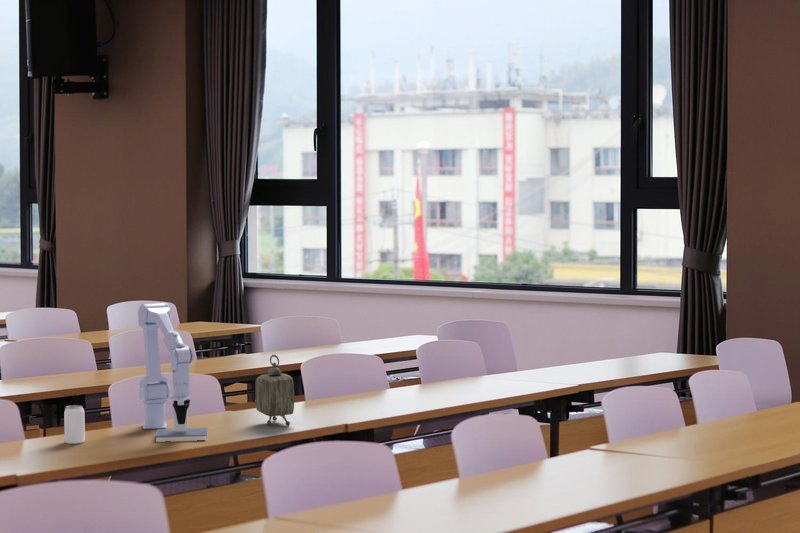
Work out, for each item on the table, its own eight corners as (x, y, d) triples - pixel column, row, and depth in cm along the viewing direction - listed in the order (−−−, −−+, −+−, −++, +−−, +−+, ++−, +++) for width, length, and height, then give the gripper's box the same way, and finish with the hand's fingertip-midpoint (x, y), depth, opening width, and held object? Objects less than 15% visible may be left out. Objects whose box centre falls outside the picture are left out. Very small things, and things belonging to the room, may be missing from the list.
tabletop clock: (294, 426, 417) (294, 356, 415) (271, 429, 412) (270, 358, 410) (276, 419, 429) (276, 351, 427) (254, 422, 424) (253, 353, 423)
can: (79, 444, 387) (78, 408, 386) (61, 443, 388) (60, 408, 387) (88, 440, 393) (87, 405, 392) (70, 439, 394) (69, 404, 394)
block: (174, 426, 399) (174, 409, 399) (187, 426, 400) (187, 408, 400) (173, 429, 395) (173, 411, 395) (187, 428, 396) (187, 411, 395)
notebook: (157, 436, 403) (157, 429, 403) (207, 434, 405) (207, 427, 405) (155, 443, 391) (155, 436, 391) (206, 442, 393) (206, 434, 393)
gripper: (170, 379, 403) (170, 418, 404) (168, 386, 389) (168, 427, 390) (190, 379, 404) (191, 418, 405) (189, 386, 390) (190, 426, 391)
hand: (181, 422), depth 398 cm, fingers closed on block, 4 cm apart
